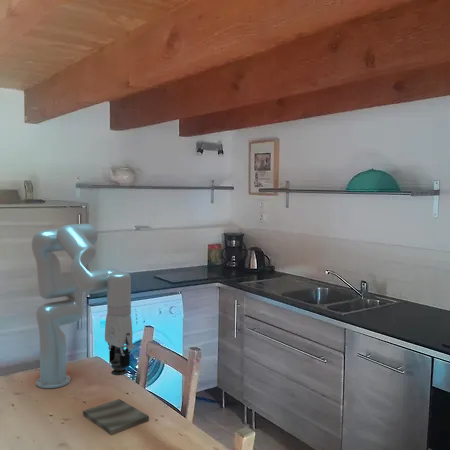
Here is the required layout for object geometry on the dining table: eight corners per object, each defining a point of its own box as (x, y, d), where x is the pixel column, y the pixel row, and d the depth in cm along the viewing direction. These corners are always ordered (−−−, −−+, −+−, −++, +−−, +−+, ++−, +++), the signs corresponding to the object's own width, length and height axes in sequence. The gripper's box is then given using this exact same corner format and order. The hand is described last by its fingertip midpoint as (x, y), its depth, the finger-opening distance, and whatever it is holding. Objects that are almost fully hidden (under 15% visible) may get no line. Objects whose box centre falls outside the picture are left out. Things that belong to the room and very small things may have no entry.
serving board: (83, 415, 167) (82, 410, 166) (119, 402, 176) (119, 398, 176) (111, 435, 154) (111, 430, 154) (148, 420, 163) (148, 416, 163)
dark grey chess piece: (129, 369, 167) (129, 334, 166) (126, 375, 161) (126, 339, 160) (112, 369, 166) (111, 333, 165) (108, 375, 161) (108, 339, 160)
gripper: (95, 307, 166) (95, 359, 167) (123, 317, 153) (123, 374, 155) (115, 303, 171) (115, 354, 172) (144, 313, 158) (144, 368, 160)
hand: (119, 363), depth 163 cm, fingers closed on dark grey chess piece, 5 cm apart
